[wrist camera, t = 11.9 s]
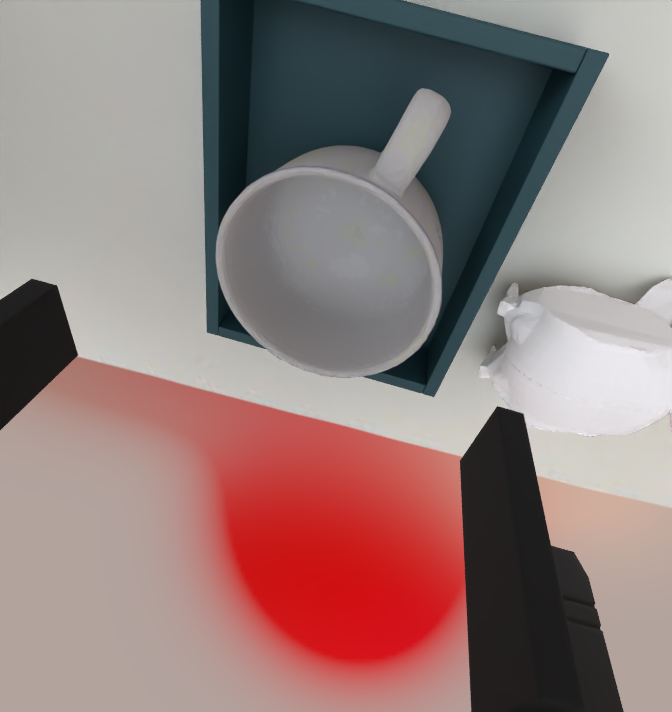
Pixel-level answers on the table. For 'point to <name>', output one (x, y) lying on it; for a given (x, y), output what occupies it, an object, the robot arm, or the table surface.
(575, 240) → the table surface
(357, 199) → the teacup
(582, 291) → the white figurine
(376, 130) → the tray
